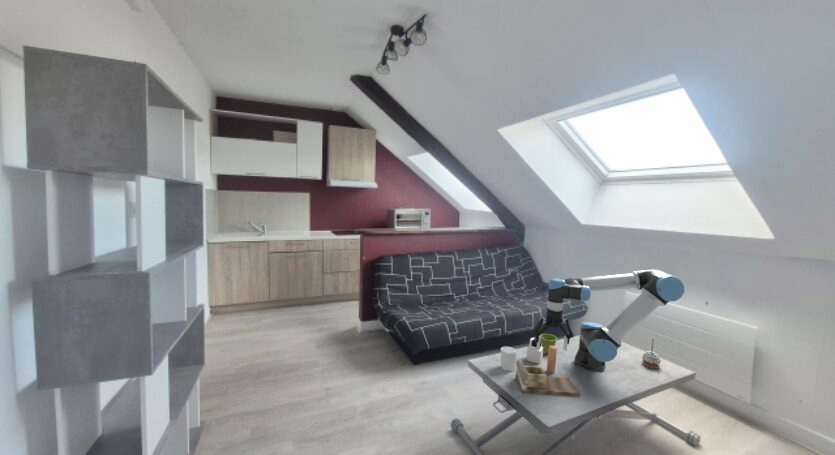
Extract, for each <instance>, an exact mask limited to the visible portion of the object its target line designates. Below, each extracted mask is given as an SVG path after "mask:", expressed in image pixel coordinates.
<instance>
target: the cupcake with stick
mask: <svg viewBox="0 0 835 455" xmlns="http://www.w3.org/2000/svg"><path fill="white" fill-rule="evenodd" d="M654 343H655V339H654V338H651V348H650V350H647V351H645V352H643V353H642V360H641V363H642V364H643V366H646V367H648V368H652V369H659V368H660V367H661V366H660V363H661V361H662V360H661V358H660V355H659V354H658V353H657V352H655V351H654Z"/></svg>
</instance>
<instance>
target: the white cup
mask: <svg viewBox="0 0 835 455" xmlns="http://www.w3.org/2000/svg"><path fill="white" fill-rule="evenodd" d="M516 358H517V350H516V349H515V348H514V347H512V346H511V347H510V346H502V347H501V348H500V368H501V369H502V370H504V371H506V372H513V371H514V370H515V367H516V366H515V364H516V361H517V359H516Z"/></svg>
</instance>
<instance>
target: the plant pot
mask: <svg viewBox="0 0 835 455" xmlns="http://www.w3.org/2000/svg"><path fill="white" fill-rule="evenodd" d="M540 337H541V339H540V340H541V347H543V353H546V354H548V350H549V346H555V345H556V342H557V340H558V338H557V336H556V335H553V334H549V333H542V334H541V335H540ZM555 347H556V346H555Z"/></svg>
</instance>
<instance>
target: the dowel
mask: <svg viewBox="0 0 835 455" xmlns="http://www.w3.org/2000/svg"><path fill="white" fill-rule="evenodd" d="M557 352H558V347H557V346H549V350H548V353H547V362H546V372H547V373H549V374H555V372H556V364H557V354H558V353H557Z"/></svg>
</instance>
